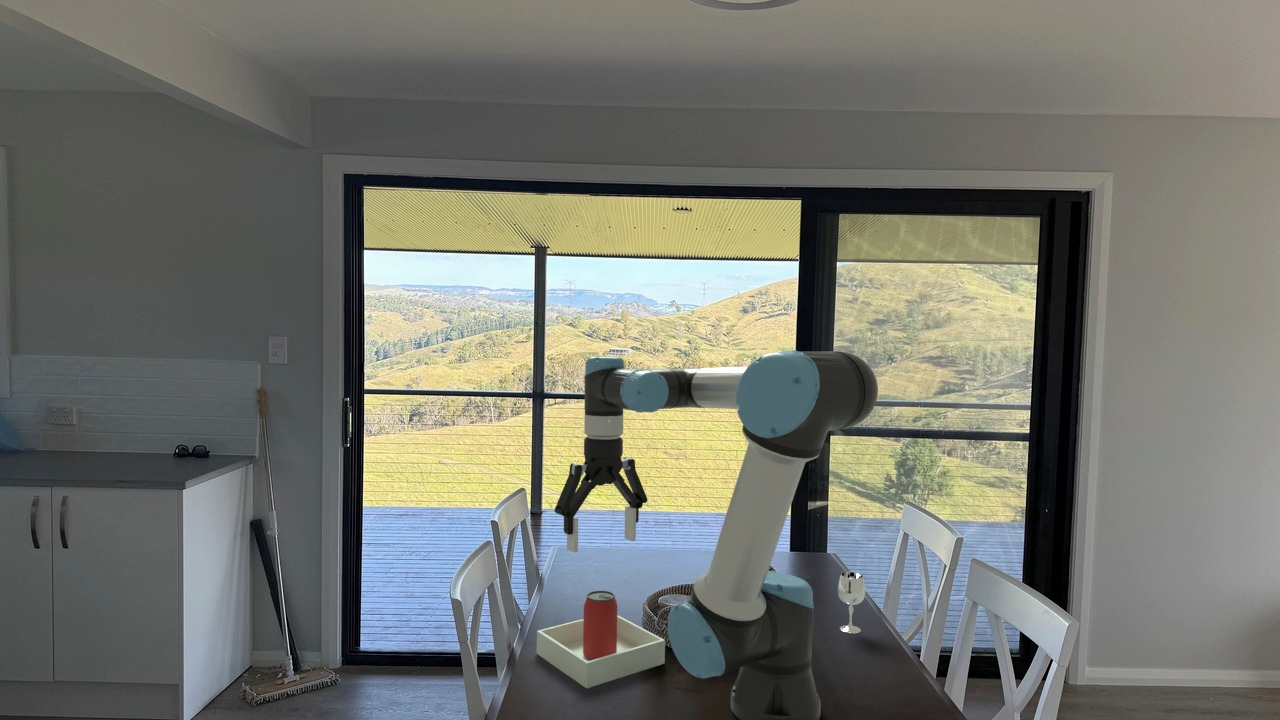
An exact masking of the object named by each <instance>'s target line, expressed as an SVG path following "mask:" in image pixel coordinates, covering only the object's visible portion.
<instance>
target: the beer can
mask: <svg viewBox="0 0 1280 720" xmlns="http://www.w3.org/2000/svg"><path fill="white" fill-rule="evenodd" d="M617 615H618V603H617V600H616V595H615V593H614V592H612V591H608V590H593V591H590V592H588V593H587V594H586V599H585V601H584V604H583V619H584V623H583V654H584V656H585V657H586V658H587V659H589V660H594V659H598V658H601V657H604V656H608V655H611V654H614V653H617Z"/></svg>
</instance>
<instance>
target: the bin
mask: <svg viewBox="0 0 1280 720" xmlns="http://www.w3.org/2000/svg"><path fill="white" fill-rule="evenodd" d="M583 623H584V618H583V619H577V620H573V621H571V622H570V621H569V622H566V623H563V624H557V625H554V626H551V627H546V628H543V629H539V630H536V655H538V656H539V657H541V658H542V659H543V660H545V661H546V662H548V663H549V664H551V665H552V666H554V667H555V668H556V669H558V670H559V671H561V672H562V673H564V674H565V675H567V676H568V677H569V678H571V679H572V680H574V681H576V682H577V683H578V684H579V685H581V686H582V687H584V688H586V689H589V688H593V687H597V686H600V685H602V684H604V683H608V682H611V681H614V680H619V679H621V678H624V677H627V676H629V675H633V674H637V673H641V672H642V671H646V670H649V669H652V668H655V667H658V666H661V665H663V664H665V661H666V659H665V657H666V654H665V652H666V639H664V638H662V637H660V636H659V635H656V634H655V633H652V632H650V631H649V630H646V629H645V628H644V627H641V626H639V625H637V624H635V623H634V622H632V621H630V620H627V619H626V618H624V617H622V616H620V615H619V614H617V653H614V654H611V655H608V656H604V657H601V658H598V659H594V660H589V659H587V658H586V657H585V656H584V654H583Z"/></svg>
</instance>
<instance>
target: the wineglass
mask: <svg viewBox="0 0 1280 720" xmlns="http://www.w3.org/2000/svg"><path fill="white" fill-rule="evenodd" d="M865 584H866V583H865V579H864V575H863V574H861V573H858V572H853V571H844V572H841V574H840V576H839V580H838V584H837V593H838V595H837V596H838V597H839V599H840V601H842V602H843V603H844V604H846V605H849V606H848V612H849V622H848V624H847V625H846V624H845V625H841V626H840V627H839V630H840V631H841V632H843V633H846V634H853V635H855V634H859V633H861V632H862V630H861V628H860V627H858V626H855V625H853V622H852V621H853V613H854V607H853V606H855V605H856V606H857V605H859V604H861V603H862V602H863V601H864V600H865V596H866V585H865Z"/></svg>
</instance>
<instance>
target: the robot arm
mask: <svg viewBox="0 0 1280 720" xmlns="http://www.w3.org/2000/svg"><path fill="white" fill-rule="evenodd" d="M584 369H585V371H584V373H585V374H584V376H583V378H584V432H583V433H584V435H586V437H584V439H583V455H584V463H583V464H578V463H574V462H572V463H570V465H569V472H568V477H567V479H566V481H565V484H564V486H563V489H562V490H561V493H560V495H559V498H558V500H557V503H556V505H555V508H554V513H555V514H556V515H557V514H558V515H559V516H562V517H563V533H564V534H566V550H568V551H570V552H572V553H575V554H576V553H578V552H579V517H578V516H576V515H577V513H578V511H579V510H580V508H581V507H582V506H583V504H584V502H585V501H586V499H587V497H589V494H590V493H591V492H592V491H593V490H594V489H595V488H596V487H597V486H604V485H613V486H614V487H615V488H616V489H617V491H618V492H619V493H620V495H621V497H623V499H624V500H625V501H626V502H627V504H628V505H626V506H624V539H625V540H628V541H629V542H630V541H631V542H636V541H637V540H636V535H637V533H636V532H637V523H639V516H640V515H639V514H640V513H639V511H640V509H642V508H643V504H647V503H648V496H647V494H646V493H645V492H646V491H645V490H644V487H643V485H642V483H641V480H640V477H639V475H638V473H637V470H636V469H637V468H636V461H635V459H634V458H630V457H627V456H626V457H624V458H623V459H622V456H623V451H624V450H623V449H624V447H623V446H624V445H623V444H624V440H623V438H622V437H621V436H622V435H623V434H624V410H629V411H633V412H635V413H655V412H657V411H658V410H669V409H670V410H671V409H682V408H683V409H685V408H693V409H696V408H697V409H707V408H708V409H728V410H729V409H730V410H736V411H737V412H736V413H737V414H738V418H739V419H740V422H741V423H742V429H741V431H742V434H743V436H744V438H745V439H746V441H747V442H748V444H747V447H746V451H745V454H744V458H743V460H742V464H741V467H740V470H739V473H738V476H737V479H736V481H735V485H734V488H733V491H732V495H731V498H730V501H729V504H728V508H727V511H726V514H725V517H724V520H723V524H722V527H721V530H720V533H719V535H718V539H717V543H716V546H715V548H714V549H715V550H714V553H713V555H712V559H711V561H710V565H709V568H708V571H706V572H703V573H702V574H699V576H697V577H696V578H695V581H694V584H693V587H692V590H691V593H690V596H689V599H688V600H687V601H681V602H679V603H677V604H675V605H674V606H673V607H672V608H671V609H670V611H669V614H668V618H667V635H668V640H669V642H670V645H671V649H672V651H673V653H674V655H675V657H676V659H677V661H678V662H679V663H680V665H681V666H682V667H683V668H684V669H685V671H687V672H688V673H689V674H690V675H692V676H693V677H696V678H699V679H708V678H711V677H720V676H722V675H723V674H726V673H729V672H731V671H735V670H738V669H739V670H738V672H737V674H736V678H735V682H734V685H733V686H732V689H731V692H730V710H731V712H732V713H733V714H734V716H735V717H736V718H737V719H738V720H820V718H821V710H822V709H821V707H822V705H821V703H822V702H821V698H820V695H819V693H818V692H817V688H816V682H815V679H814V675H813V670H812V649H813V648H812V647H813V621H814V608H815V605H814V599H813V598H814V597H813V596H814V595H813V594H814V593H813V592H814V591H813V589H812V587H811V585H810V583H808V582H807V581H806V580H804V579H802V578H800V577H798V576H794V575H792V574H789V573H784V572H778V571H771V570H769V569H770V566H771V564H772V561H773V557H774V555H775V553H776V552H775V551H776V549H777V548H778V547H777V546H778V543H779V541H780V537H781V534H782V532H783V528H784V526H785V523H786V521H787V518H788V514H789V511H790V508H791V505H792V502H793V501H794V497H795V494H796V492H797V491H796V490H797V488H798V485H799V483H800V479H801V477H802V473H803V472H804V471H803V470H804V468H805V465H806V463H808V462H810V461H812V460H815V459H817V458H818V457H819V456H821V455H820V454H821V452H822V449H823V447H824V444H825V440H826V438H827V435H828V432H829V431H839V430H847V429H849V428H852V427H854V426H857V425H858V424H860V423H862V422H863V421H864V420H866V419H867V418H868V417H869V416H870V414H871V413H872V411H873V410H874V408H875V406H876V403H877V399H878V393H879V385H878V381H877V378H876V376H875V375H876V374H875V373H874V371H873V370H872V368H871V366H870V365H868V363H867V362H866V361H865V360H864V359H862V358H861V357H859V356H857V355H855V354H853V353H851V352H846V351H839V350H834V351H833V350H829V351H827V350H826V351H809V350H808V351H805V350H804V351H798V350H791V349H790V350H789V349H787V350H781V351H776V352H770V353H766V354H763V355H760V356H759V357H756V358H755V359H754V360H753V361H752V362H750V364H749V365H748V366H731V367H728V366H727V367H690V368H689V367H688V368H647V369H646V368H645V369H643V368H642V369H637V368H634V369H633V368H625V360H624V359H623V357H619V356H590V357H588V358H587V359H586V360H585V368H584ZM622 470H623V472H624V474H625V477H626V479H627V483H628V485H629V486H628V485H627V483H626V482H625V479H624V477H623V476H622V475H621V473H620V472H621V471H622ZM584 473H585V475H584ZM583 475H584V476H583ZM582 476H583V478H582ZM581 478H582V479H581ZM579 484H580V485H579Z"/></svg>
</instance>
